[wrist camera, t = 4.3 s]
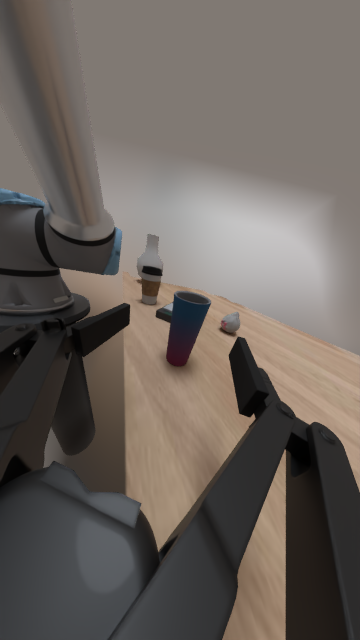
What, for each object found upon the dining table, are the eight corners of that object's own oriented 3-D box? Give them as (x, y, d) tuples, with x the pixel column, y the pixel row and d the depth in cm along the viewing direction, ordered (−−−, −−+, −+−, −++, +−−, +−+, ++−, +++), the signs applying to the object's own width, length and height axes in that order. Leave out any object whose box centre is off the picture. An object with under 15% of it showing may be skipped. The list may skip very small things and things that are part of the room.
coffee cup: (137, 303, 52) (140, 265, 46) (140, 297, 60) (143, 263, 53) (158, 306, 54) (163, 270, 47) (158, 300, 61) (163, 267, 55)
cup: (160, 348, 31) (170, 289, 25) (185, 347, 34) (201, 293, 27) (165, 370, 26) (180, 301, 19) (195, 368, 28) (218, 305, 21)
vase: (135, 278, 90) (137, 232, 78) (157, 281, 97) (162, 239, 85) (137, 285, 77) (140, 230, 65) (163, 287, 84) (170, 239, 72)
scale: (155, 316, 46) (156, 308, 44) (172, 306, 58) (173, 299, 56) (191, 331, 42) (193, 322, 40) (201, 317, 54) (203, 310, 52)
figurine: (214, 326, 49) (221, 307, 45) (228, 326, 51) (236, 308, 48) (224, 336, 44) (233, 315, 40) (239, 336, 46) (249, 316, 42)
